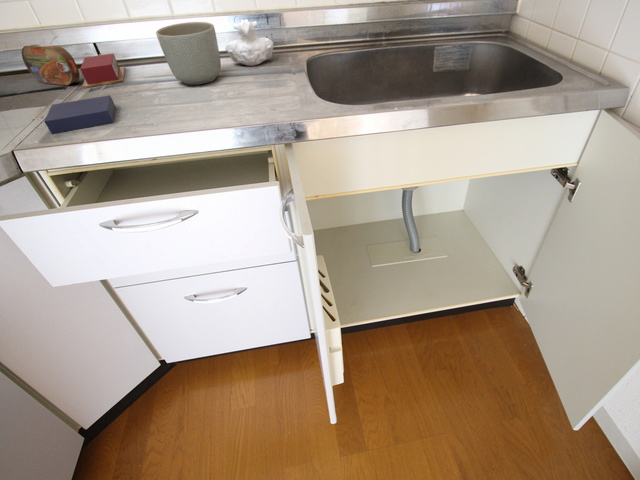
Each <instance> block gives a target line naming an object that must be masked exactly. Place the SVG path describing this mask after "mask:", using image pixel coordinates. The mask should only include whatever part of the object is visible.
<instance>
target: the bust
mask: <svg viewBox="0 0 640 480" xmlns="http://www.w3.org/2000/svg"><path fill="white" fill-rule="evenodd" d="M257 26H258V21H257V20H254V21H249V20H248V18H246V19H242V18H241V19H240V22H237V23H236V22H233V23H232V27H233V29H234V30H235V29H236V30H237V32H238V34H237V36H238V37H240V36H241V37H240V38H239V39H233V40H230V41H229V42H228V43H227V44H225V50H226V53H227V54H228V56H229V58H230V59H231V60H232V61H233V62H234V63H236V64H241V65H245V66H247V67H249V66H251V67H254V66H258V65H260V64H262V63H263V62H265V61H268V60H271V58H272V56H273V51H274V42H273V41H272V40H271V39H270V38H268V37H265V36H263V37H261V36H260V37H259V36H258V37H256V36H255V35H256V31H255V28H256V27H257Z"/></svg>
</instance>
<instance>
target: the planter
mask: <svg viewBox="0 0 640 480" xmlns="http://www.w3.org/2000/svg"><path fill="white" fill-rule="evenodd" d="M155 35H156V38H157V40H158V44H159V46H160V48H161V51H162V53H163V55H164V58H165V60H166V63H167V65H168V67H169V69H170V71H171V74H172V75H173V76H174V78H176V79H177V80H178V81H180V82H181V83H184V84H186V85H189V86H190V85H191V86H194V85H195V86H196V85H197V86H198V85H205V84H208V83H211V82H213V81H215V80H216V79H217V78H218V76H219V75H220V73H221V70H222V63H221V54H220V49H219V43H218V38H217V33H216V28H215V26H214V24H213V23H211V22H206V21H189V22H180V23H175V24H171V25H167V26H163V27H161V28H159V29H157V30H156V31H155Z"/></svg>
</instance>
